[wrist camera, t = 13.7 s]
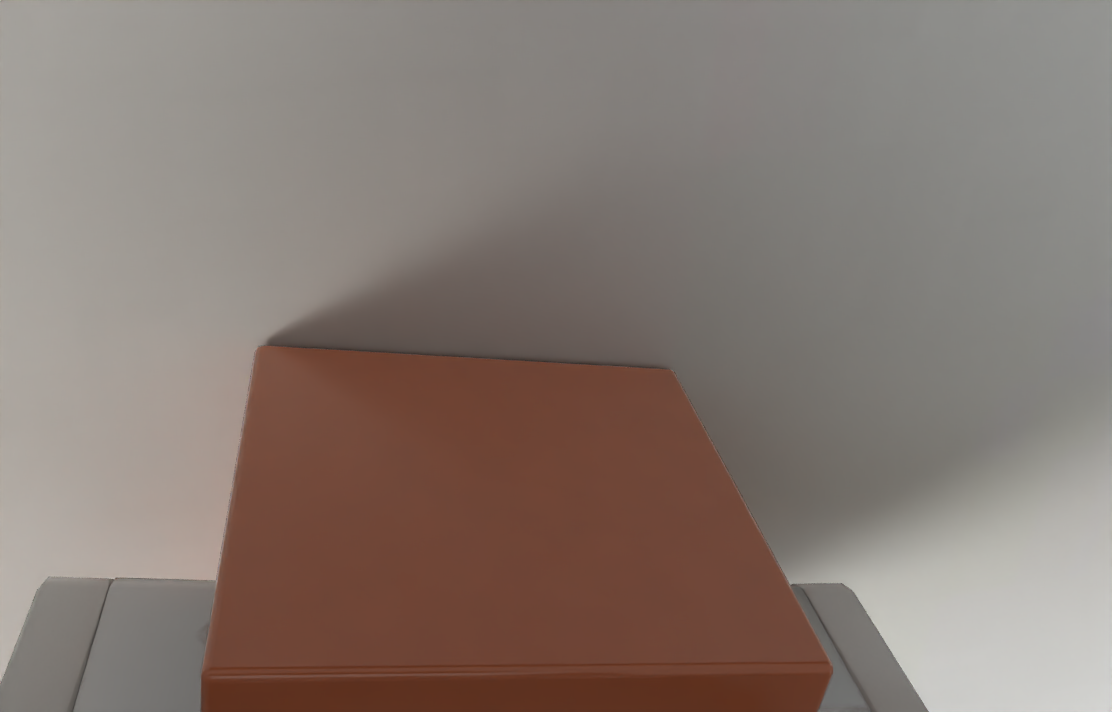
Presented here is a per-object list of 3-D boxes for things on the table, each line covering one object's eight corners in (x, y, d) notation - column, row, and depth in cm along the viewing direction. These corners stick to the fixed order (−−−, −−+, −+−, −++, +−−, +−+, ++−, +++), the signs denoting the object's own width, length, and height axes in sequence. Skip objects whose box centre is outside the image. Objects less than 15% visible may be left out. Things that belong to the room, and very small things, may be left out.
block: (246, 666, 11) (198, 1065, 8) (255, 341, 9) (199, 675, 6) (602, 663, 12) (702, 1019, 9) (675, 367, 10) (839, 668, 7)
